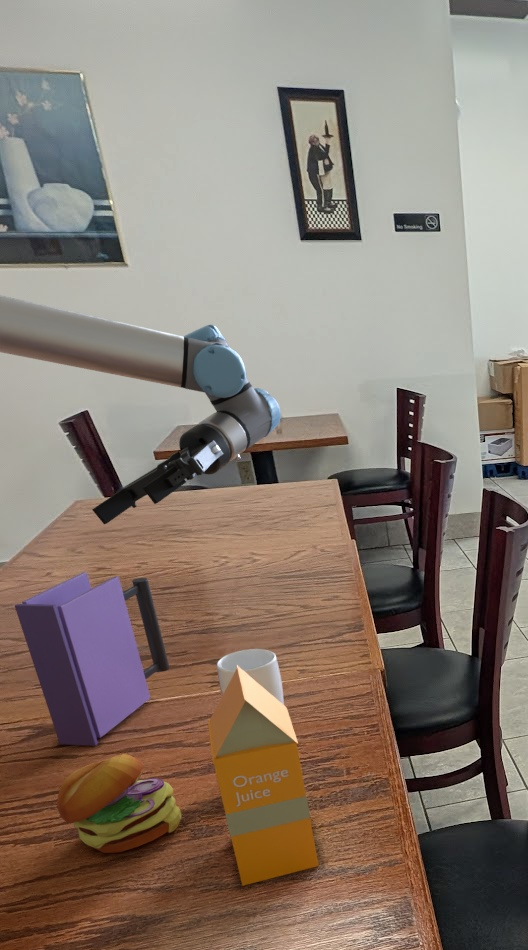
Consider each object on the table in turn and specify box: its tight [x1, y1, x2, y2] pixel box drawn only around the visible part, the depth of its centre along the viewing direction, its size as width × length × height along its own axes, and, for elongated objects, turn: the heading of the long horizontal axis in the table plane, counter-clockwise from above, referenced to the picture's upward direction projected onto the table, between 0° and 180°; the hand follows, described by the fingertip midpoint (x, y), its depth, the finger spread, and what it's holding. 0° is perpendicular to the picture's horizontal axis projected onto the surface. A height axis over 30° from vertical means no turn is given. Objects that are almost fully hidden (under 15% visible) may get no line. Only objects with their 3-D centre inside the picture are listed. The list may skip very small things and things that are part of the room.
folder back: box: [14, 571, 99, 747], centre depth 110 cm, size 5×13×20 cm, turn 174°
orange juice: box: [207, 665, 320, 887], centre depth 82 cm, size 8×9×20 cm
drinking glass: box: [216, 648, 285, 706], centre depth 99 cm, size 7×7×15 cm
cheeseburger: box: [56, 753, 183, 854], centre depth 89 cm, size 10×11×10 cm
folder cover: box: [57, 576, 171, 739], centre depth 113 cm, size 2×18×18 cm, turn 174°
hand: (123, 506), depth 124 cm, fingers open, 13 cm apart
